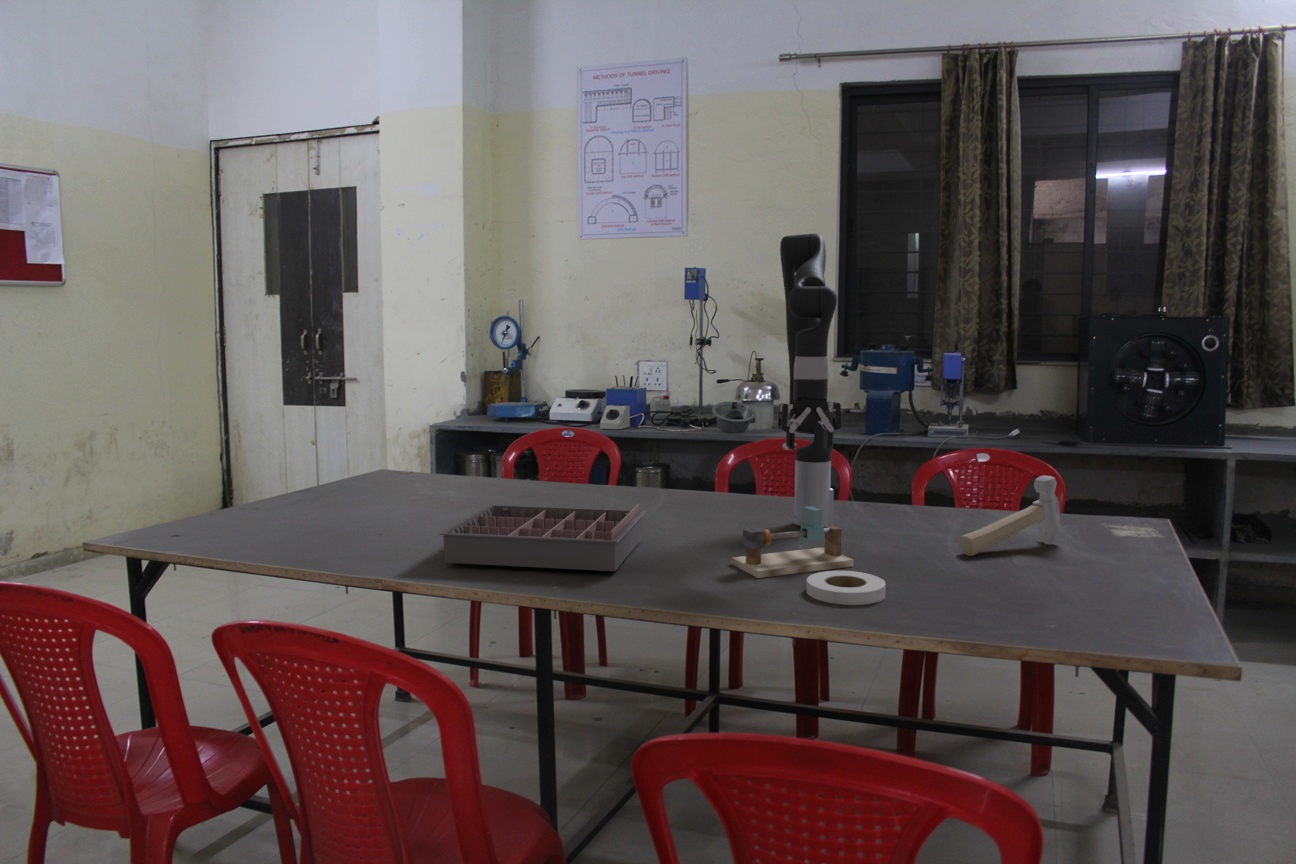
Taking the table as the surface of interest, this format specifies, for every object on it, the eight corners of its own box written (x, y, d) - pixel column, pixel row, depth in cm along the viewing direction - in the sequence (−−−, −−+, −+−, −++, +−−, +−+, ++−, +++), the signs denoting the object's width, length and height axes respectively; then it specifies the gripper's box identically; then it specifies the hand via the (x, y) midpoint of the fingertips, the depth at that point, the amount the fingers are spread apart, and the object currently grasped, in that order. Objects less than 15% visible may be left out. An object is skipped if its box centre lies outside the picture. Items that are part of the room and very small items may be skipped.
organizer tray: (490, 535, 236) (489, 497, 235) (646, 542, 228) (646, 502, 227) (439, 569, 205) (438, 525, 203) (617, 578, 197) (617, 532, 196)
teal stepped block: (814, 536, 211) (815, 505, 210) (825, 540, 207) (825, 509, 206) (799, 537, 209) (799, 507, 208) (809, 542, 205) (810, 511, 204)
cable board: (823, 553, 217) (824, 516, 216) (853, 566, 206) (854, 527, 205) (731, 564, 208) (731, 525, 207) (757, 578, 197) (758, 537, 196)
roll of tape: (835, 610, 176) (835, 595, 176) (791, 588, 190) (792, 575, 190) (902, 600, 182) (902, 586, 182) (854, 580, 196) (855, 567, 196)
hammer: (969, 517, 211) (1059, 476, 224) (954, 513, 215) (1042, 474, 228) (978, 581, 214) (1065, 537, 227) (962, 576, 218) (1049, 533, 231)
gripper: (833, 375, 214) (831, 446, 216) (774, 376, 210) (773, 447, 212) (847, 377, 206) (845, 450, 208) (786, 378, 203) (785, 452, 205)
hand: (809, 448), depth 210 cm, fingers open, 8 cm apart
